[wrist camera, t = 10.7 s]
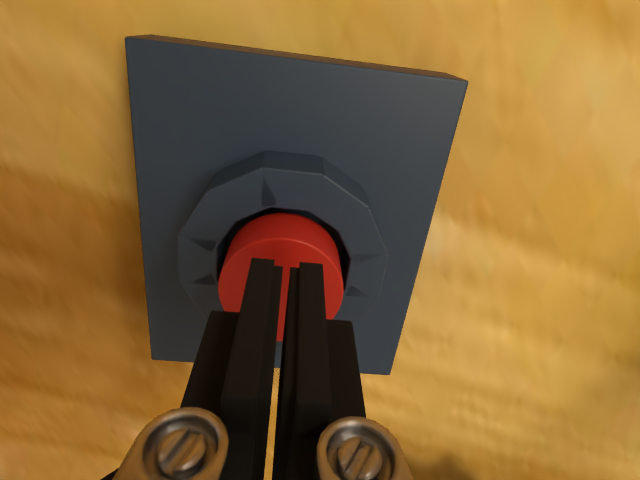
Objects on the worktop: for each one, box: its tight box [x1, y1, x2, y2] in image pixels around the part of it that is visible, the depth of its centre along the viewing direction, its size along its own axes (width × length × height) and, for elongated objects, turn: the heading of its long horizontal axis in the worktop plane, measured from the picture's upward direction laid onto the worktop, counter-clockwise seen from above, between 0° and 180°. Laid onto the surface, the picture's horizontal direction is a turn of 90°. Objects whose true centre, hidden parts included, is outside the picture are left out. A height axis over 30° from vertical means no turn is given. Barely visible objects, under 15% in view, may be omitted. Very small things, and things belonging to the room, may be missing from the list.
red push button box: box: [125, 35, 468, 375], centre depth 15 cm, size 12×10×4 cm
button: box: [218, 213, 344, 341], centre depth 13 cm, size 4×4×2 cm
